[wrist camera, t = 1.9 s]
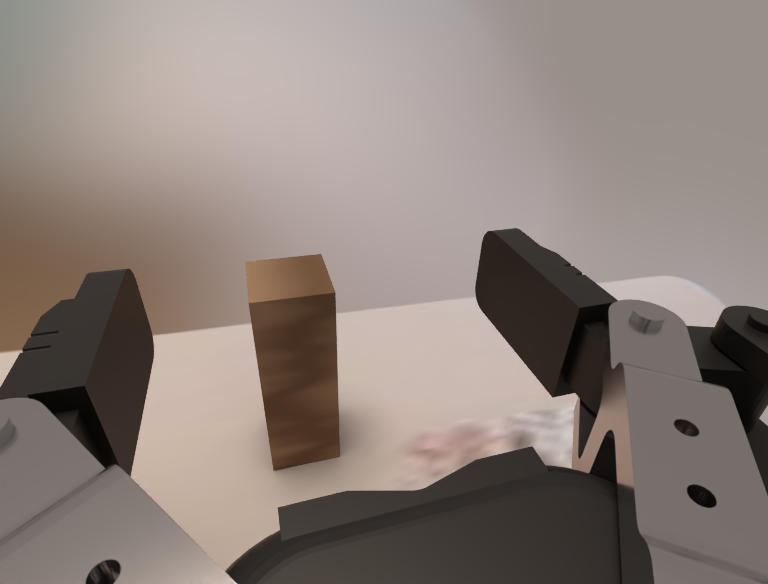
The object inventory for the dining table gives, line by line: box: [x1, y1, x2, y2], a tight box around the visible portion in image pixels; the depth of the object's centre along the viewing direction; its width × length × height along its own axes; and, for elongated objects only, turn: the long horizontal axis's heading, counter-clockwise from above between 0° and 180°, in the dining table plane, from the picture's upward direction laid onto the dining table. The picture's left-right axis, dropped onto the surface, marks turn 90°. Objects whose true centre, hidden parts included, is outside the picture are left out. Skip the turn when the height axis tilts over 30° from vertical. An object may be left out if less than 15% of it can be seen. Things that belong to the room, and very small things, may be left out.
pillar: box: [245, 254, 340, 470], centre depth 26 cm, size 4×4×12 cm
